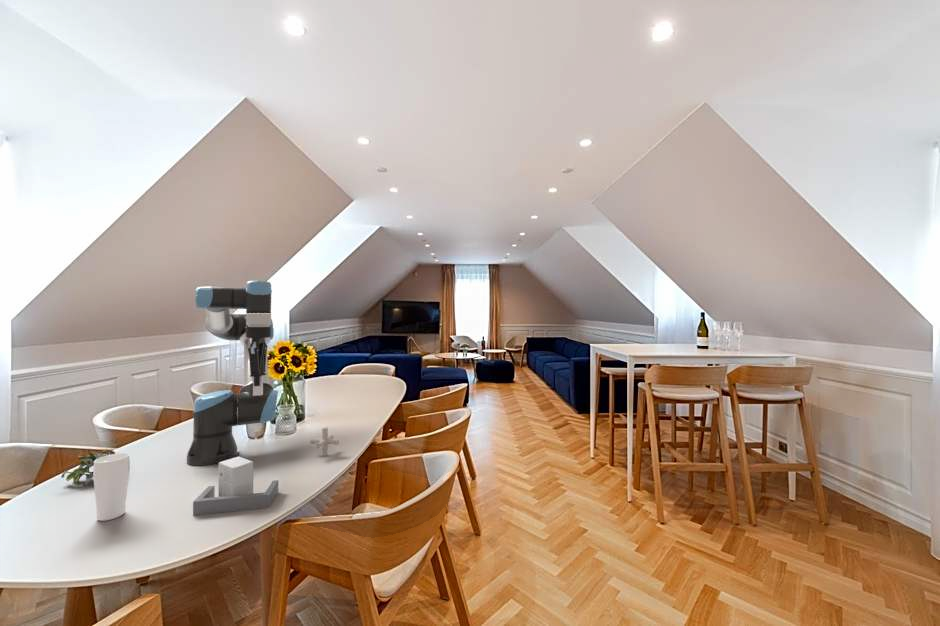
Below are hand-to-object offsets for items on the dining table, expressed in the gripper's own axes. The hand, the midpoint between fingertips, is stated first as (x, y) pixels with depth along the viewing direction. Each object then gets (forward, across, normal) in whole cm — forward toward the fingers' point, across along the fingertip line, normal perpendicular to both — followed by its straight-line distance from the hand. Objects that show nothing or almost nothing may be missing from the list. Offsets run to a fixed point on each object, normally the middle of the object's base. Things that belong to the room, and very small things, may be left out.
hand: (257, 394), depth 129 cm
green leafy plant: (+25, +2, -45) cm, 51 cm away
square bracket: (+24, +26, +3) cm, 36 cm away
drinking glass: (+25, +27, -26) cm, 45 cm away
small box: (+25, +24, +2) cm, 34 cm away
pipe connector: (+25, -6, +21) cm, 33 cm away
